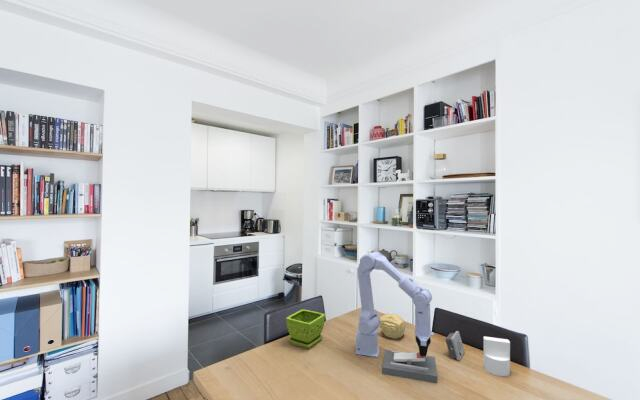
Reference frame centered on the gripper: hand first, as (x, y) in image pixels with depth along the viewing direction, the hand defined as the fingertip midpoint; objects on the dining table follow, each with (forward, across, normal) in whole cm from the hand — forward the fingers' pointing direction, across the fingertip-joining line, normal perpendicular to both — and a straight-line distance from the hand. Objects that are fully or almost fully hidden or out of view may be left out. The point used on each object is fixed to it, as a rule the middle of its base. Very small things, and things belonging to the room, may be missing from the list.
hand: (423, 355), depth 117 cm
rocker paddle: (+1, 0, +5) cm, 5 cm away
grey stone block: (+6, +16, -14) cm, 22 cm away
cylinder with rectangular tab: (+6, +9, -28) cm, 30 cm away
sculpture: (+6, +27, +13) cm, 31 cm away
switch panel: (+6, 0, +5) cm, 8 cm away
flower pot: (+6, +8, +52) cm, 53 cm away
